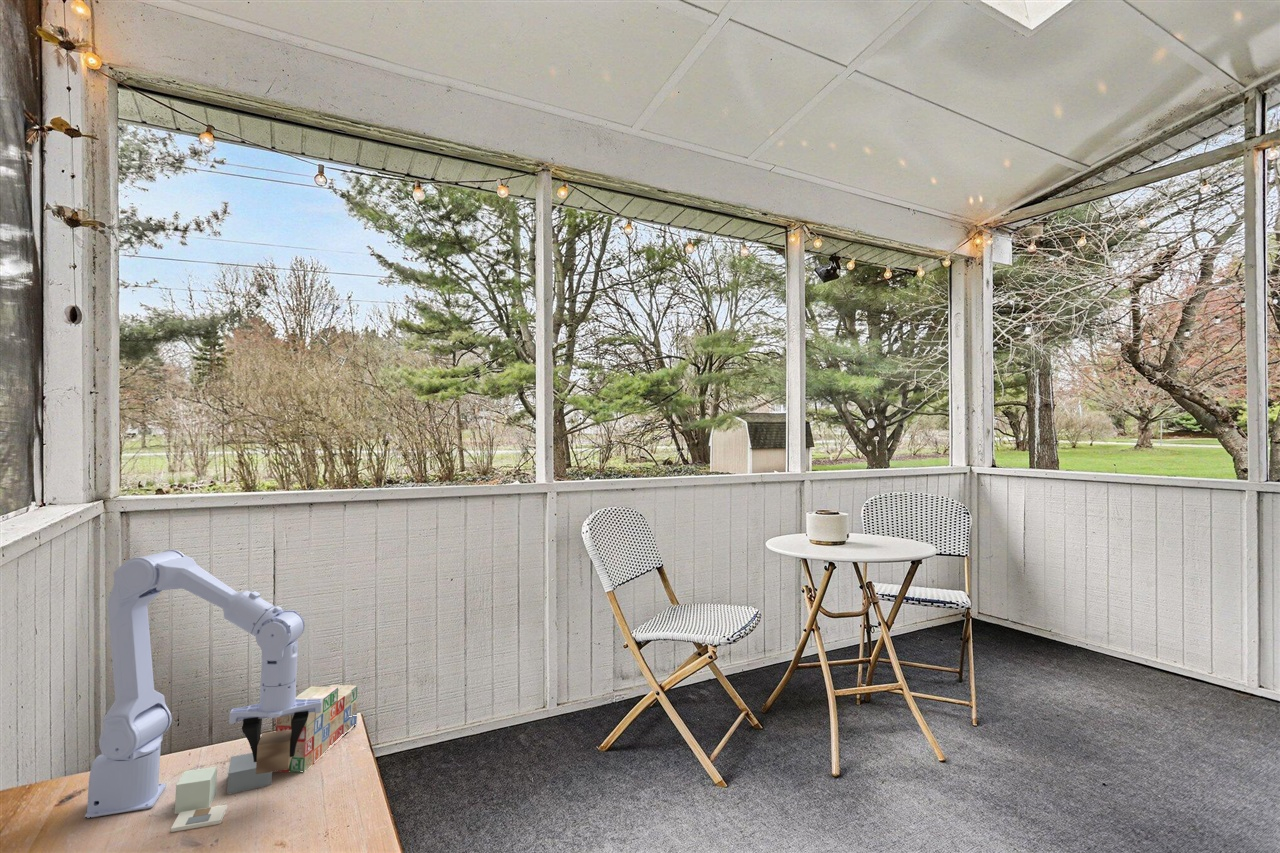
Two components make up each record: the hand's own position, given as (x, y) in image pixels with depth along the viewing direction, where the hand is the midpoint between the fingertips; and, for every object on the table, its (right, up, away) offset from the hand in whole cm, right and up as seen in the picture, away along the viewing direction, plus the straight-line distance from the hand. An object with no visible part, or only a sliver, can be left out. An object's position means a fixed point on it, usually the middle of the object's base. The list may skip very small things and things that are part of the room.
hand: (274, 756), depth 113 cm
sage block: (-13, -7, -2) cm, 15 cm away
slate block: (-8, -8, +6) cm, 13 cm away
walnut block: (0, -1, 0) cm, 1 cm away
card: (-9, -7, -7) cm, 13 cm away
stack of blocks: (-2, -9, +20) cm, 22 cm away
